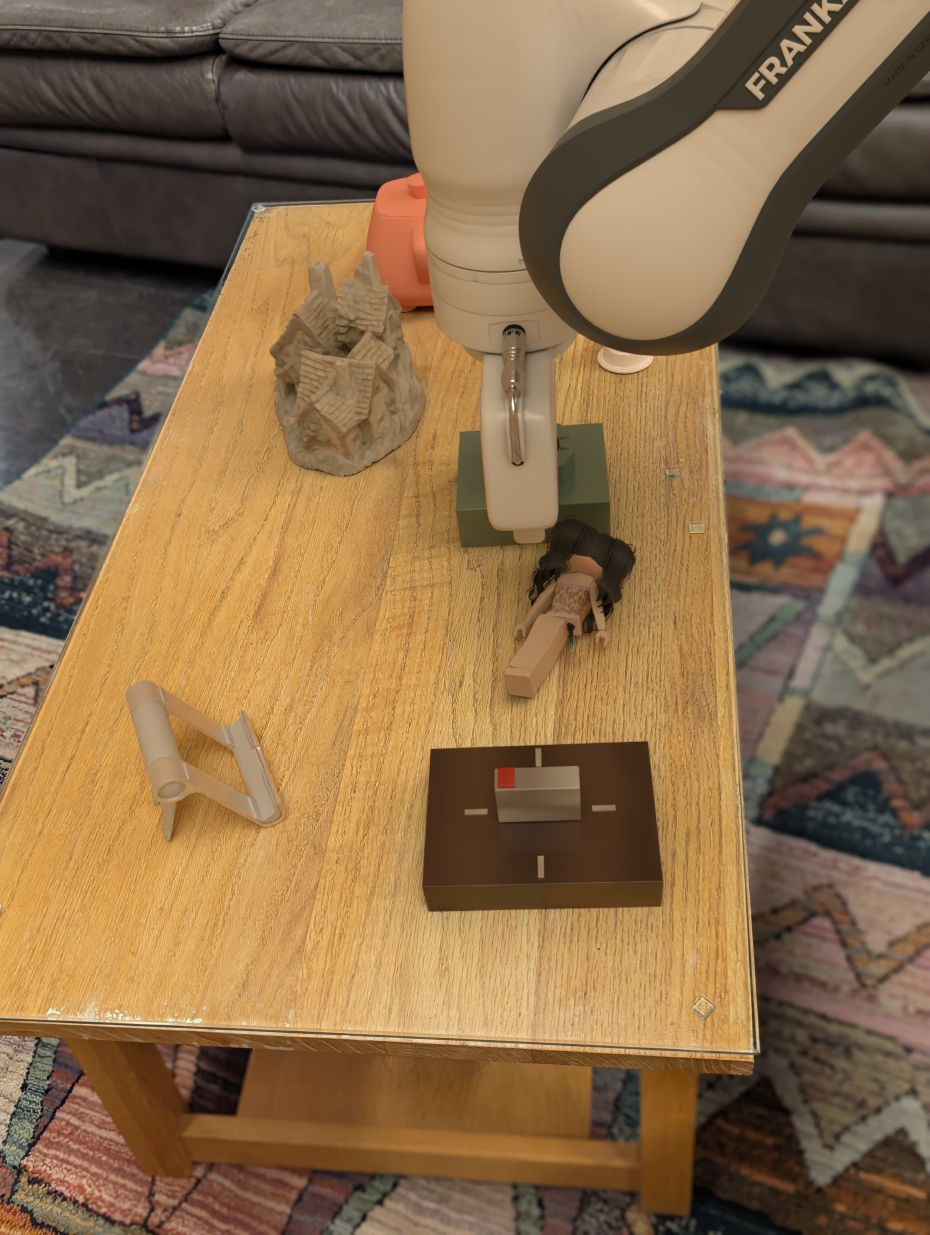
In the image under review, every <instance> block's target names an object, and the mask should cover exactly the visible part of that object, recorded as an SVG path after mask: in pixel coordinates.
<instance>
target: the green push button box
mask: <svg viewBox="0 0 930 1235" xmlns="http://www.w3.org/2000/svg"><path fill="white" fill-rule="evenodd" d="M458 437H459V438H458V439H459V440H458V455H457V457H458V458H457V476H456V477H457V478H456V496H455V515H456V523H457V528H458V529H457V530H458V537H459V542H460V543H459V545H460V547H461V548H469V547H470V548H472V547H489V546H490V547H491V546H509V545H510V546H511V545H521V544H520V543H518V542H516V541H515V540H514V533H513V531H500V530H496V529H495V528H494V527H493V526H492V525H491V523H490V521H489V517H488V512H487V503H486V493H485V483H484V473H483V461H482V449H481V437H480V429H479V430H464V431H459V436H458ZM605 442H606V441H605V431H604V423H603V422H594V423H593V422H591V423H577V424H561V423H558V422H557V467H558V517H557V521H556V523H555V525H556V524H557V523H558V522H560V521H563V520H564V519H565V518H566V516H568V515H571V516H572V517H571V516H568V517H567V519H574V518H575V520H579V521H583V522H585V523H587V524H588V526H591V527H593V528H595V529H597V530H598V532H599V533H600V534H601V533H605V534H608V535H611V495H610V484H609V472H608V463H607V454H606V453H607V452H606V451H607V450H606V443H605ZM573 517H574V518H573ZM567 519H566V520H567ZM555 525H554V526H553V527H551V528H547V529H545V538H544V540H543V541H542V542H540V543H539V544H545V543H546V544H550V539H551V536H552V533H553V531H552V530H553V529H554V528H555ZM551 531H552V533H551ZM550 533H551V535H550ZM549 535H550V537H549ZM548 538H549V539H548ZM547 540H548V543H547ZM528 544H529V545H530V544H532V543H528ZM528 544H527V545H528Z"/></svg>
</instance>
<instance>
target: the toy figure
mask: <svg viewBox="0 0 930 1235" xmlns="http://www.w3.org/2000/svg"><path fill="white" fill-rule="evenodd" d="M568 516H571V515H568ZM568 516H566V518H565V519H564V520H563V521H560V522H558V523H557V524H556V525H555V528H554V529H553V530H552V531H553V533H552V531H551V533H552V536H551V539H550V543H548V540H547V543H546V544H549V546H548V547H549V548H546V550H545V554H543V555H542V556H540V557H539V559H538V562H537V564H538V566H539V567H537V568H536V569H535V570H534V571H533V572H532V574H531V575H530V579H529V580H530V581H529V582H530V583H529V588H528V589H527V590H526V591H525V593H524V594H525V596H528V599H529V600H530V606H531V608H530V610H529V611H528V613H527V614H526V616H525V618H524V619H523V623H522V622H521V623H518V624H517V625H516V626H515V627H514V629H513V633H512V634H513V635H512V636H513V638H514V639H515V640H517V641H518V642H521V641H522V638H524V639H525V641H524V642H523V643H522V645H521V646H520V647H519V648H518V650H517V651H516V652H515V654H514V655H513V657H512V658H511V659H510V661H509V662H508V666H507V667H506V668H504V671H503V673H502V676H503V679H504V683H505V686H506V689H507V693H508V694H509V695H511V696H517V697H526V698H532V699H534V698H535V697H536V696H537V692H538V690H539V688H540V687H541V685H543V684H542V683H543V682H545V680H546V678H547V677H548V675H549V674H550V673H551V671H552V670H553V668H554V666H555V664H556V663H557V661H558V659H559V657H560V655H561V652H562V651H563V649H564V646H565V644H566V641H567V639H568V636H569V644H570V651H571V653H573V651H574V636H577V637H578V636H579V637H580V636H582V632H583V633H584V634H591V633H593V632H596V631H598V632H596V633H595V637H594V642H595V645H596V647H597V648H599V647H600V645H601V641H602V642H603V643H602V646H603V648H604V650H607V649H608V648H609V647H610V646H611V637H610V635H609V633H608V631H606V630H607V629H606V628H607V625H606V621H608V619H610V617H611V616H612V615H613V613H614V604H617V603H619V602H620V601H621V599H622V596H623V594H622V589H623V588H624V587H623V585H624V584H625V583H626V582H627V581H628V580H629V579H630V576H631V574H632V572H633V569H634V566H635V564H636V561H637V560H636V556H635V553H636V546H635V545H634V544H632V543H627V542H625V541H624V540H623V539H620V538H618V537H613V536H612V535H611V534H610V535H608V534H605V533H601V534H600V533H599V532H598V530H597V529H595V528H593V527H591V526H588V524H587V523H585V522H583V521H579V520H575V518H574V517H573V518H574V519H567V517H568ZM571 517H572V516H571ZM566 519H567V520H566ZM551 533H550V535H551ZM550 535H549V537H550ZM548 539H549V538H548ZM631 546H634V548H633V549H632V548H631ZM532 577H533V579H532ZM626 578H627V579H626ZM552 581H553V582H552ZM623 581H624V582H623ZM531 585H532V586H531ZM548 585H549V586H548ZM547 586H548V587H547ZM531 587H532V588H531ZM527 593H528V595H527ZM534 594H536V596H534V597H533V599H532V596H533V595H534ZM550 605H551V609H548V611H547V612H546V613H543V612H544V610H546V608H547V607H548V606H550ZM591 609H592V610H591ZM590 610H591V612H589V611H590ZM607 616H608V617H607ZM606 617H607V618H606ZM584 622H585V624H586V631H582V630H585V626H584ZM594 623H595V624H596V628H594V625H595V624H594ZM530 626H531V628H530Z"/></svg>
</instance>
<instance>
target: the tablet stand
mask: <svg viewBox="0 0 930 1235" xmlns="http://www.w3.org/2000/svg"><path fill="white" fill-rule="evenodd" d="M125 700H126V704H127V707H128V711H129V713H130V718H131V720H132V723H133V728H134V731H135V735H136V738H137V741H138V745H139V748H140V752H141V755H142V758H143V762H144V765H145V770H146V773H147V777H148V780H149V783H150V792H151V797H152V800H153V804H154V806H158V805H160V808H161V811H162V812H161V813H162V820H161V832H162V835H163V838H164V842H170V841H171V838H172V834H173V833H172V832H173V828H174V820H175V815H176V809H177V802H179V801H181V800H183V799H184V798H186V797H188V796H189V795H191V794H194V793H198V794H201V795H203V796H205V797H207V798H209V799H211V800H212V801H214V802H216V803H218V804H219V805H220V806H221V805H222V806H224V807H225V808H227V809H229V810H231V811H233V812H234V813H236V814H238V815H240V816H241V817H243V818H245V819H247V820H249V821H251V822H253V823H254V824H256V825H258V826H259V827H264V828H268V827H269V828H270V827H273V826H276V825H278V824H279V823H280V822H282V821H283V820H284V819H285V817H286V813H287V812H286V809H285V807H284V804H283V802H282V799H281V796H280V794H279V791H278V789H277V786H276V784H275V781H274V778H273V775H272V774H271V771H270V767H269V765H268V763H267V760H266V757H265V755H264V752H263V749H262V747H261V744H260V742H259V740H258V737H257V735H256V732H255V730H254V727H253V725H252V722H251V719H250V716H248V714H247V713H246V711H245V710H244V709H241V710H239V711H238V715H239V719H237V720H236V721H234V722H233V723H232V724H231V725H229V726H228V725H226V724H225V723H222V724H221V723H219V722H218V721H216V720H214V719H213V718H211V717H210V716H208V715H207V714H205V713H204V712H202V711H200V710H199V709H197V708H195V707H194V706H193V705H191V704H189V703H188V702H187V701H185V700H183V699H182V698H180V697H178V696H177V695H175V694H173V693H172V692H171V691H169V690H168V689H165V688H163V687H162V686H160V685H159V684H157V683H156V682H155V681H152V680H139V681H137V682H134V683H133V684H131V685H130V686H129V687H127V689H126V692H125ZM169 716H174V717H177V718H178V719H180V720H181V721H182V722H184V723H186V724H187V725H189V726H191V727H193V728H194V729H196V730H198V731H199V732H201V733H203V734H204V735H206V736H208V737H209V738H210V739H212V740H214V741H215V742H217V743H219V744H220V745H222V746H223V747H225V748H227V749H229V750H230V751H231V752H233V755H234V758H235V760H236V763H237V766H238V769H239V772H240V774H241V777H242V779H243V783H244V785H245V788H246V791H247V793H248V796H247V795H245V794H243V793H242V792H239V791H238V790H237V789H235V788H233V787H231V786H229V785H228V784H226V783H224V782H222V781H221V780H218V779H217V778H215V777H214V776H211V775H210V774H208V773H207V772H205V771H203V770H201V769H199V768H198V767H196V766H194V765H192V764H191V763H188V762H187V761H185V760H182V756H181V752H180V749H179V746H178V743H177V741H176V737H175V733H174V731H173V727H172V724H171V721H170V718H169Z"/></svg>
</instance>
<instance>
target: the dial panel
mask: <svg viewBox="0 0 930 1235" xmlns="http://www.w3.org/2000/svg"><path fill="white" fill-rule="evenodd" d="M649 745H650V744H649V741H648V740H641V741H640V740H639V741H638V740H637V741H613V742H609V741H608V742H585V743H584V742H582V743H581V742H579V743H555V744H551V743H550V744H526V745H524V744H523V745H503V746H502V745H501V746H499V745H497V746H496V745H495V746H494V745H493V746H469V747H468V746H467V747H443V748H442V747H440V748H430V750H429V765H428V766H429V767H428V782H427V783H428V784H427V801H426V816H425V817H426V818H425V830H424V831H425V832H424V849H423V865H422V866H423V867H422V880H421V881H422V883H421V888H422V893H423V897H424V901H425V904H426V908H427V911H428V912H465V911H466V912H469V911H471V912H472V911H473V912H474V911H511V910H512V911H514V910H515V911H516V910H520V911H521V910H556V909H557V910H562V909H563V910H565V909H567V910H568V909H606V908H607V909H608V908H609V909H611V908H612V909H613V908H651V907H652V908H653V907H655V908H656V907H662V904H663V890H664V879H663V878H664V876H663V867H662V858H661V857H662V856H661V849H660V840H659V831H658V830H659V829H658V820H657V812H656V802H655V792H654V784H653V783H654V782H653V775H652V764H651V755H650V754H651V753H650V746H649ZM562 766H578V767H579V776H580V798H581V820H562V821H527V822H499V819H498V812H497V805H496V798H495V790H494V789H495V769H498V768H511V767H514V768H532V767H562Z"/></svg>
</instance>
